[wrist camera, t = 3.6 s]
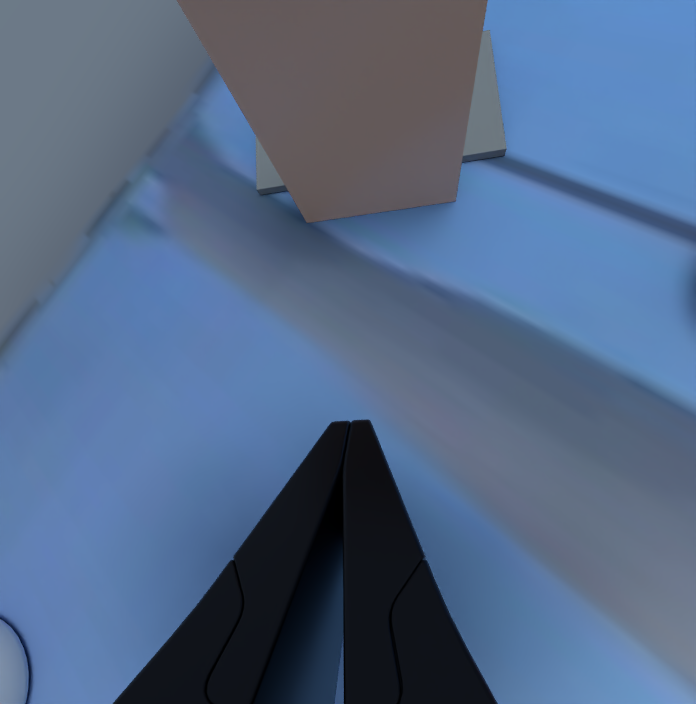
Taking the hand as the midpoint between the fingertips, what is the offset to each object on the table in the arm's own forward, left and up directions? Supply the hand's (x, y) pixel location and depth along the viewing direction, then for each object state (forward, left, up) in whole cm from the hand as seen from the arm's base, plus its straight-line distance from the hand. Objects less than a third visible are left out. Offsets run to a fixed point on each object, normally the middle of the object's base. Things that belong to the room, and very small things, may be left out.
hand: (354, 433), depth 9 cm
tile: (+11, -9, -14) cm, 19 cm away
